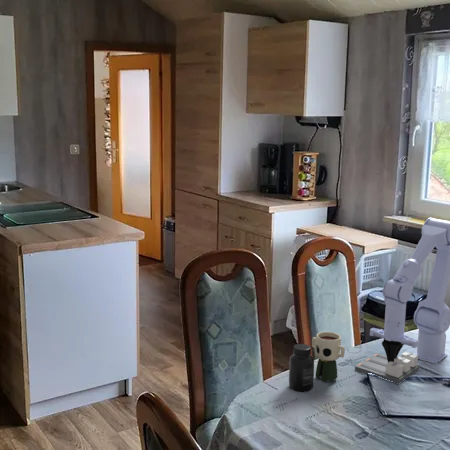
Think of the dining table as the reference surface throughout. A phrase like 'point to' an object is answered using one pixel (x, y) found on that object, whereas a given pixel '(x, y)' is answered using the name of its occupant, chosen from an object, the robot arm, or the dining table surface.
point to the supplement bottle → (301, 369)
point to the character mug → (327, 354)
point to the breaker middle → (403, 363)
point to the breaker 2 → (411, 358)
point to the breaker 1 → (394, 369)
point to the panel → (382, 368)
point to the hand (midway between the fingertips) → (391, 364)
